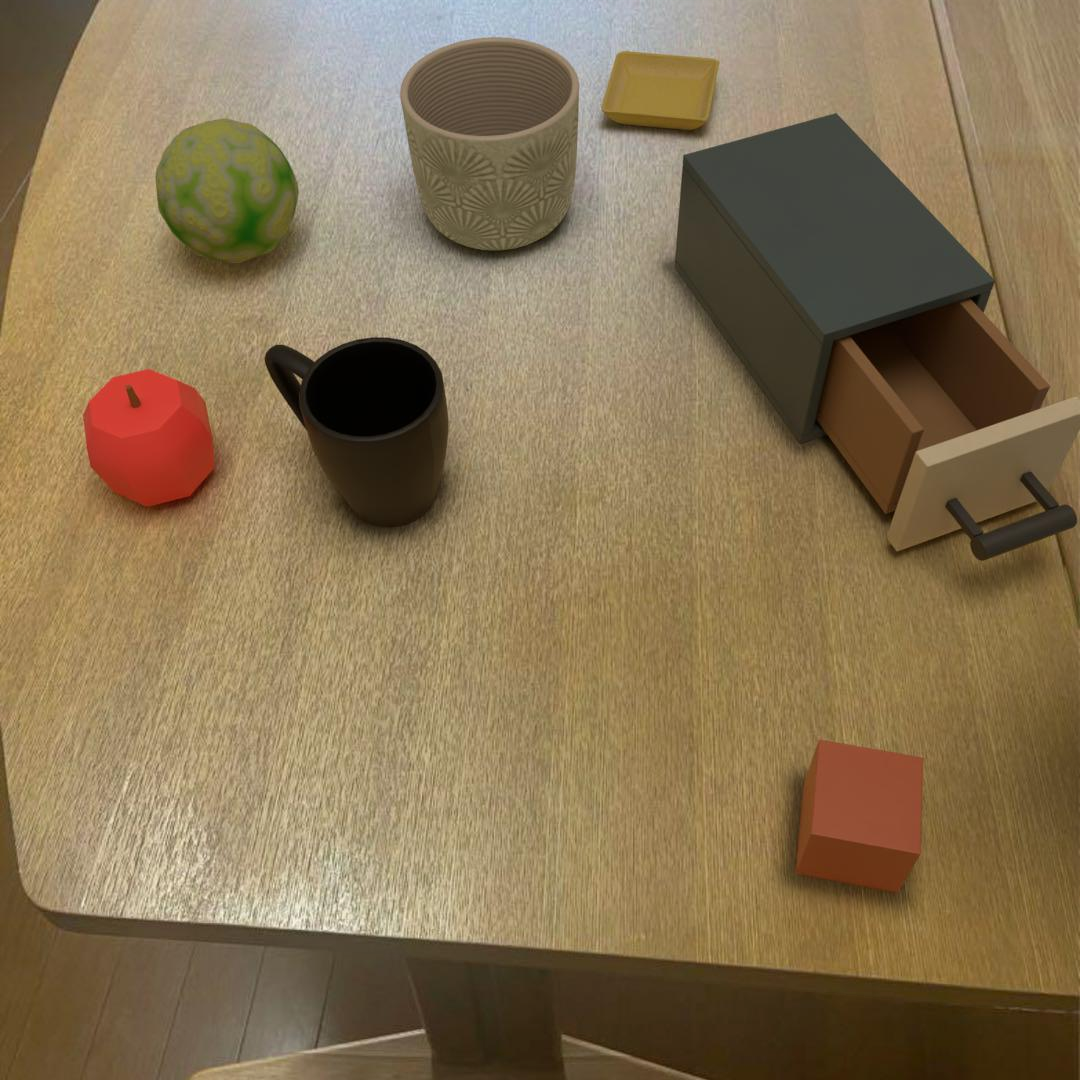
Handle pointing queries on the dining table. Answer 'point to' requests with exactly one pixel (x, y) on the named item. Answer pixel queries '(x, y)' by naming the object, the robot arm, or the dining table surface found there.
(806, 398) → the cabinet
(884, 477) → the drawer
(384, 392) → the mug
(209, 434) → the apple
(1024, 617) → the dining table surface
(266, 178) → the decorative ball
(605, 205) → the dining table surface
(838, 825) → the block
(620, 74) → the saucer
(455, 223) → the planter
